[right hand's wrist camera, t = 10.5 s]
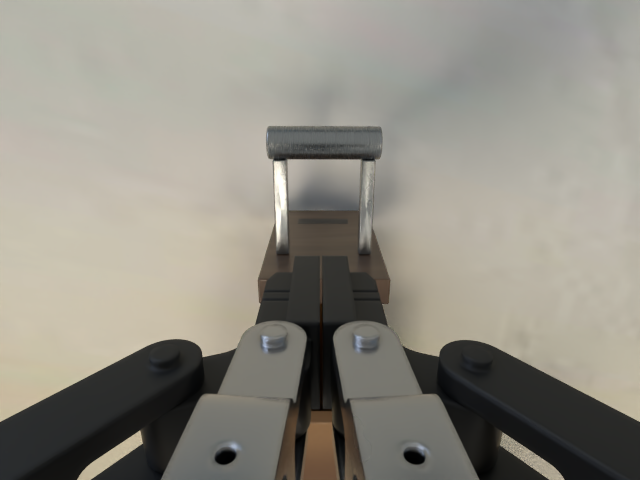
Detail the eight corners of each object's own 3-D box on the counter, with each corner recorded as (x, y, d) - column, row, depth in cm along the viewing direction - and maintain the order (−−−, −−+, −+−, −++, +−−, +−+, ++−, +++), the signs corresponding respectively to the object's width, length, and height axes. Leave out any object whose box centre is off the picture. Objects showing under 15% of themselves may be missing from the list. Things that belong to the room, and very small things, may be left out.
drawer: (274, 112, 25) (249, 135, 16) (371, 112, 25) (400, 135, 16) (285, 420, 33) (273, 549, 24) (357, 421, 33) (371, 550, 24)
